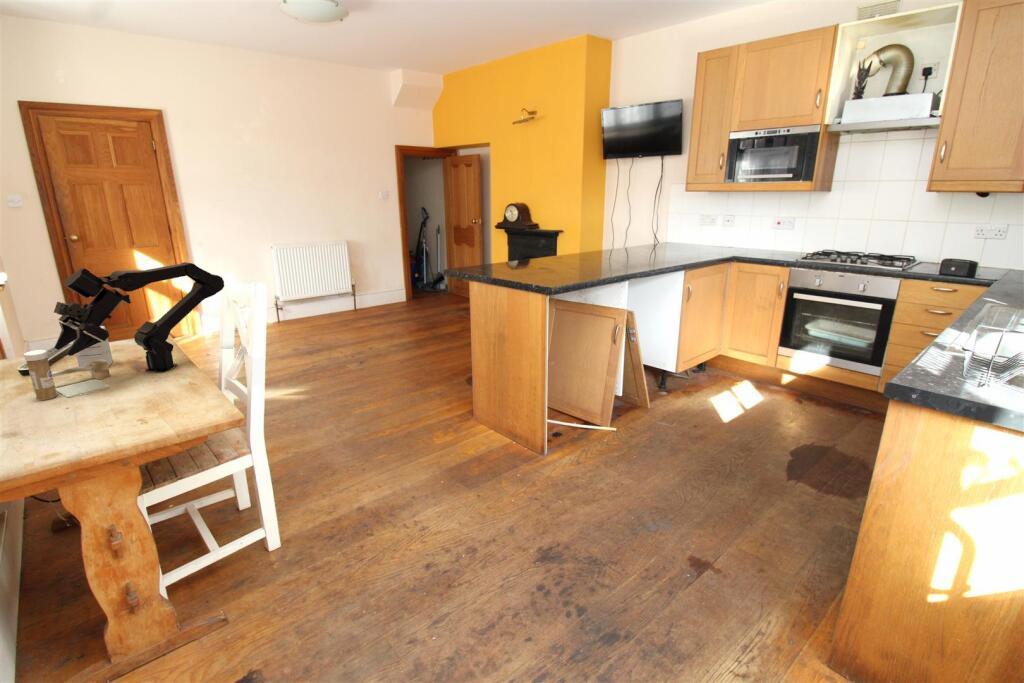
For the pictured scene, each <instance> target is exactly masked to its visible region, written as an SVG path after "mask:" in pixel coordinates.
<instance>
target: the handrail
mask: <svg viewBox="0 0 1024 683" xmlns="http://www.w3.org/2000/svg"><path fill="white" fill-rule="evenodd" d="M87 369H90V370H89V371H90V375H91V378H93V379H97V380H101V379H105V378H109V377H111V374H110V368H109V367H108V363H107V361H106V360H103V359H98V360H94V361H91V362H89V365H84V366H79V365H78V366H75V367H72V368H66V369H63V370H57V371H53V372H52V371H51V372H52V376H53V378H55V377H59V376H64V375H70V374H73V373H77V372H82V371H83V370H85V371H88V370H87ZM100 378H101V379H100Z"/></svg>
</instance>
